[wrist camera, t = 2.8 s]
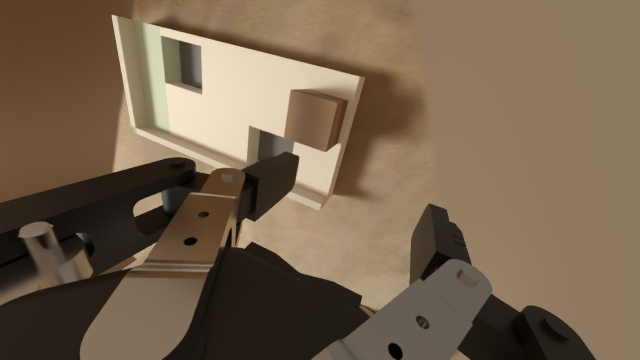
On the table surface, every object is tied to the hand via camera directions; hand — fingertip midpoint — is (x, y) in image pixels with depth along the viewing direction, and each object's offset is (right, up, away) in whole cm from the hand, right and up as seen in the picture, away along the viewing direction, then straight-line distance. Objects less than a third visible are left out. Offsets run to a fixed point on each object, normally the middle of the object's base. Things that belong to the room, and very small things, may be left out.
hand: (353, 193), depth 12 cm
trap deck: (-14, +11, +22) cm, 28 cm away
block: (-1, +8, +14) cm, 17 cm away
